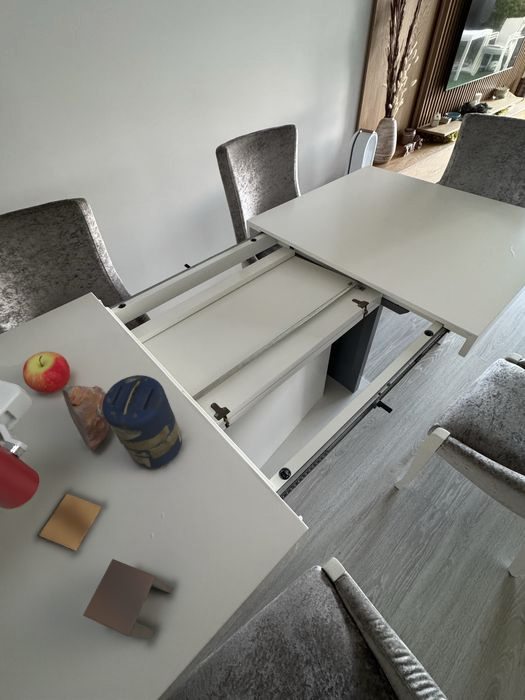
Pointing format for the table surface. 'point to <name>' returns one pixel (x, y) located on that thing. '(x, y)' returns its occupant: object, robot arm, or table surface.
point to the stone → (87, 413)
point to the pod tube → (16, 480)
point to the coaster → (70, 522)
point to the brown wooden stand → (123, 599)
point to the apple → (46, 372)
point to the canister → (143, 420)
